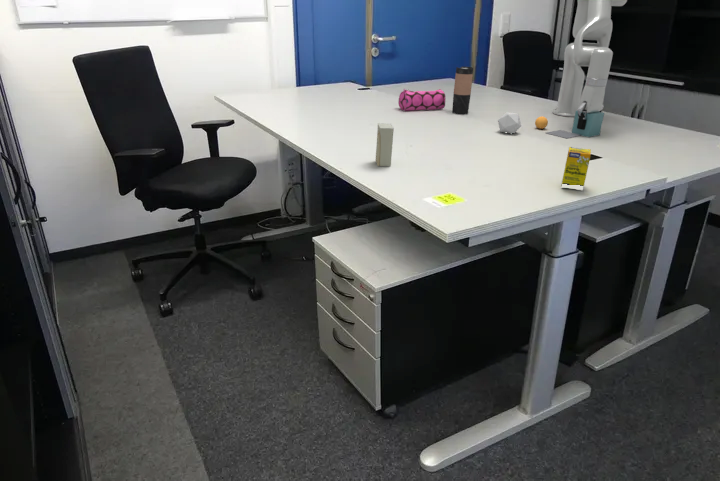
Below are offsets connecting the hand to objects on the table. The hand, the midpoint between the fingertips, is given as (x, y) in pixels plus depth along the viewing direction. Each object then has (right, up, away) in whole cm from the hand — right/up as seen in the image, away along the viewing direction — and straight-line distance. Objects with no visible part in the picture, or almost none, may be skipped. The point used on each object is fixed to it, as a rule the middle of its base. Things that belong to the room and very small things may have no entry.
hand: (586, 127), depth 218 cm
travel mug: (-45, +13, +31) cm, 56 cm away
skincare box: (-83, -21, -46) cm, 97 cm away
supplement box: (-30, -30, -61) cm, 74 cm away
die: (-32, -3, -1) cm, 32 cm away
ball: (-16, +3, +6) cm, 18 cm away
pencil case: (-62, +15, +35) cm, 73 cm away
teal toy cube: (0, -2, +1) cm, 3 cm away
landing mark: (-10, -3, -1) cm, 10 cm away
